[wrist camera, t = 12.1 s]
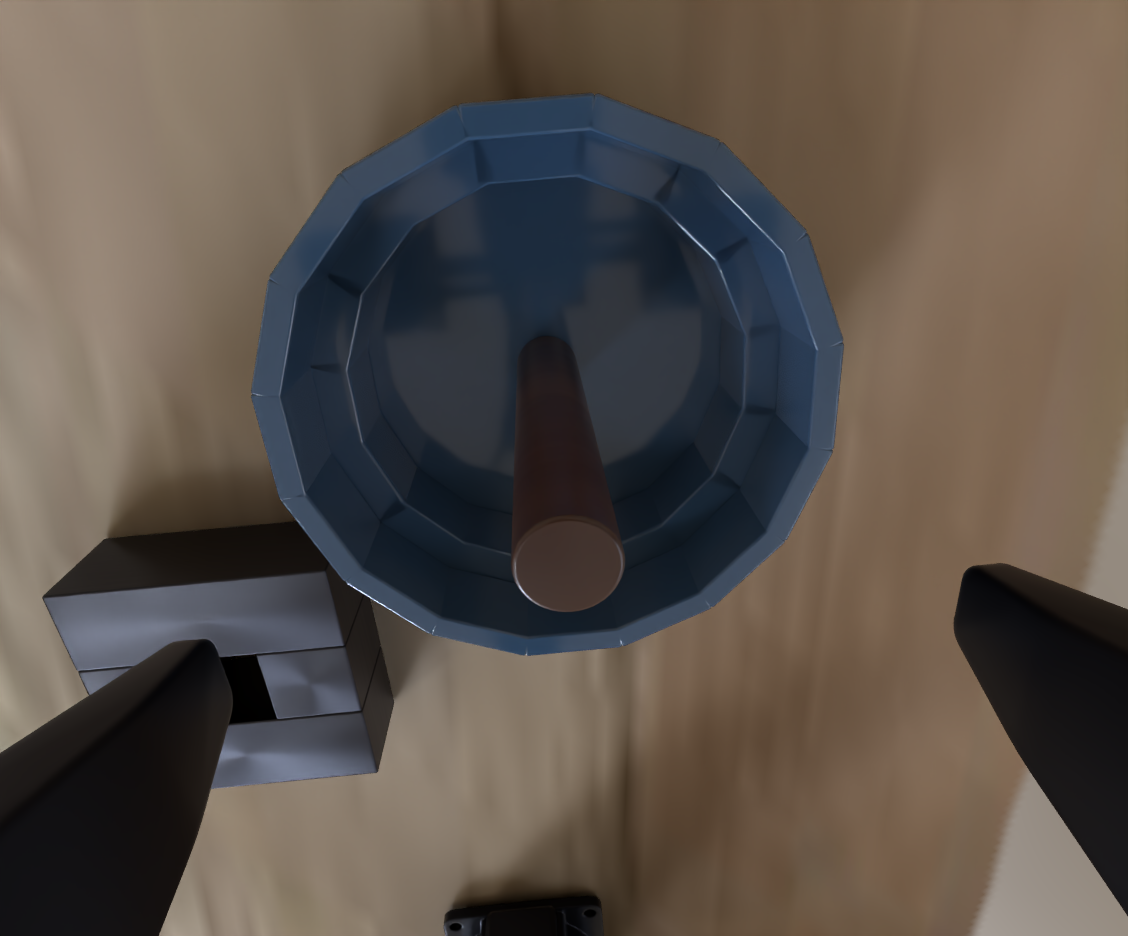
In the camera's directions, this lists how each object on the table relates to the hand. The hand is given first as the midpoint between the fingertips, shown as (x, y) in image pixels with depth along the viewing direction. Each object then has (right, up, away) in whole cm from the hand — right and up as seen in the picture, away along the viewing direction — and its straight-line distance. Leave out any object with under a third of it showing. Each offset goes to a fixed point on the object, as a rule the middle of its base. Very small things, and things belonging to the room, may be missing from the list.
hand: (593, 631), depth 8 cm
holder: (-10, -3, +14) cm, 18 cm away
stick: (-1, +5, +10) cm, 11 cm away
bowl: (-1, +5, +11) cm, 12 cm away
